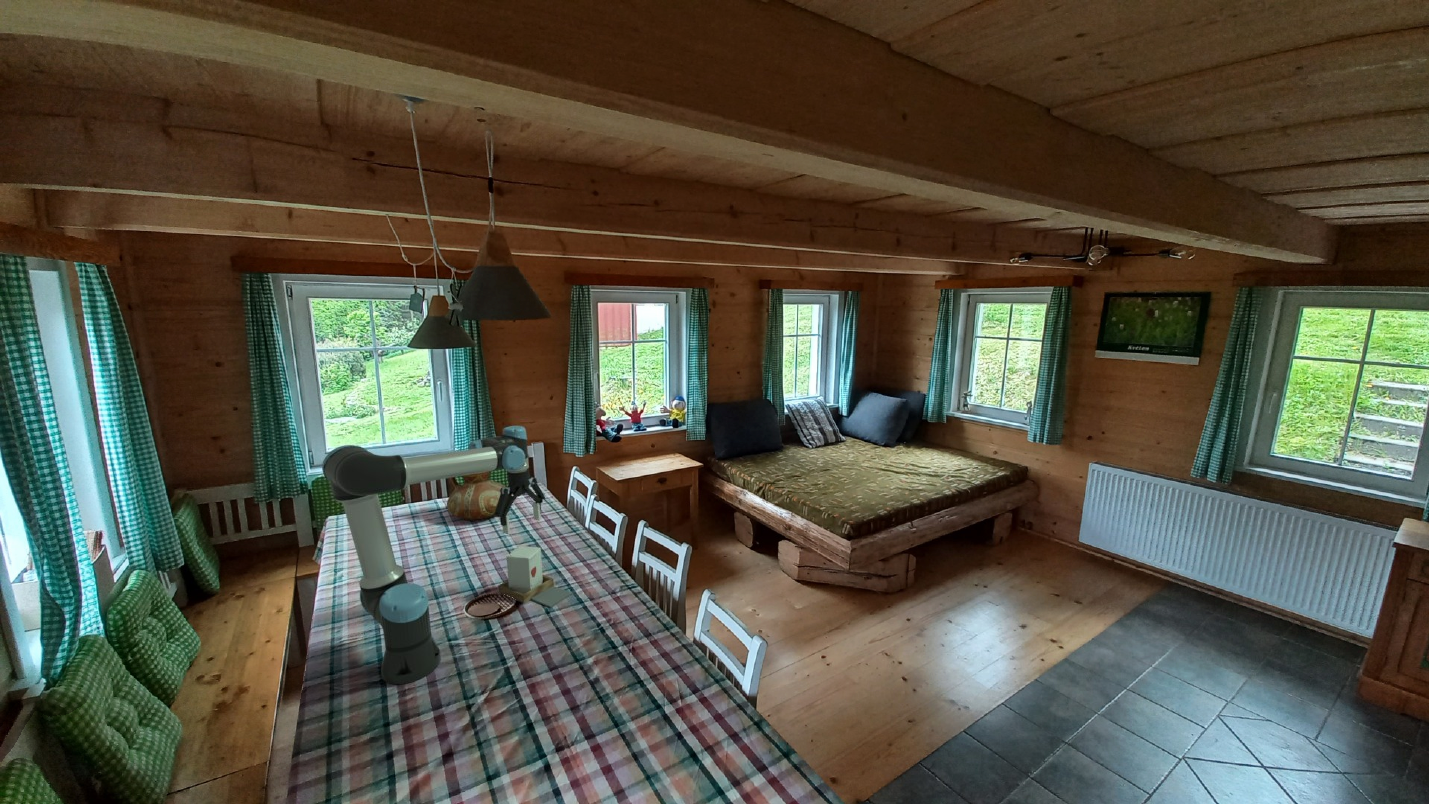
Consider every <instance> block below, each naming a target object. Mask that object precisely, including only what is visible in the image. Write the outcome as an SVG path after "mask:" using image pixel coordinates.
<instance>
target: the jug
mask: <svg viewBox="0 0 1429 804" xmlns="http://www.w3.org/2000/svg"><path fill="white" fill-rule="evenodd" d="M491 474H492V471H487V472H481V473H475V474H469V475H463V476H461V477H462V479H463V481H464V483H463V484H460V483H459V482H458V481H457V480H456V477H452V478H449V480H450V483H451V484H452V486H453V487H454V490H453V491H452V492H451V494H449V497H448V499H447V501H446V507H447V509H448V511H449V512H450V513H451V515H453V516H455V517H457V518H459V519H462V520H465V521H471V522H472V521H475V522H476V521H484V520H488V519H490V518H493V517H496V516H495V515H494V514H495V510H496V507H497V504H498V501H499V497H500V489H501V488H502V487H503V488H507V487H508V486H506V485H505V484H502V482H497V481H496V480H495V481H494V480H491V479H490V476H491ZM511 496H513V495H511Z"/></svg>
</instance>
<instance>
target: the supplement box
mask: <svg viewBox="0 0 1429 804" xmlns="http://www.w3.org/2000/svg"><path fill="white" fill-rule="evenodd" d="M506 563H507V565H506V567H507V578H508V579H507V581H508V583H509V588H510V589H513V590H515V591H518V592H520V593H523V594H525V593H527V592H528V591H530V590H532V589H534V588H535V587H537V586H539V585H541V584H542V583H543V576H542V575H543V561H542V549H541V547H535V546H527V545H519V546H518V547H517V548H516V549H514V550H513V551H511V553H510V554H507V556H506Z"/></svg>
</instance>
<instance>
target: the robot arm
mask: <svg viewBox="0 0 1429 804" xmlns="http://www.w3.org/2000/svg"><path fill="white" fill-rule="evenodd" d="M529 463H530V462H529V453H528V437H527V430H526V428H525V426H521V425H511V426H507V427H504V428H503V429H502V434H500V435H497V436H491V437H486V438H482V439H481V438H479V439H476V440H473V441H470V443H469V444H468V446H467V449H463V450H453V451H448V452H441V453H440V452H439V453H432V454H424V455H417V456H416V455H415V456H408V457H403V456H402V455H401V454H397V455H379V454H375V453H373V452H371V451H368V449H366V448H365V447H362V446H359V445H354V444H345V445H339V446H337V447H335V448H334V449H332V450H331V451H329V452H328V454H326V456H325V457H324V459H323V461H322V464H321V465H322V466H321V471H322V474H323V477H324V478H325V479H326V480H327V481H328V482H329V484H330V488H331V492H332V495H333V499H334V500H335V501H336V502H339V503H341V504H342V506H343V509H344V512H345V516H346V519H347V523H348V527H349V529H350V530H349V531H350V533H351V537H352V541H353V543H354V544H353V545H354V547H355V551H356V555H357V557H358V562H359V565H360V569H361V573H362V575H363V576H362V577H361V579H360V580H359V582H358V585H359V587H360V590H359V600H360V604H361V607H362V608H363V609H364V610H365V612H367V613H368V614H369V615H371V617H372V618H373V619H374V620H375V621H376V622H377V623H378V625H380V627H381V628H382V632H383V640H384V648H385V650H384V654H383V658H382V662H381V667H380V672H381V673H380V674H381V675H380V676H381V679H382V680H383V681H384V682H385V683H388V684H390V685H391V684H392V685H402V684H403V685H405V684H409V683H411V682H415V681H418V680H420V679H423V678H425V677H426V676H428V675H430V674H431V673H432V672H434V671H435V669H437V668H438V667H439V665H440V663H441V660H442V656H441V654H442V653H441V650H440V647H439V645H438V644H437V642H436V640H435V639H434V637H433V635H432V625H431V619H430V608H429V601H430V600H429V596H428V595H427V590H426V589H425V588H424V587H423V586H422V585H420V584H418V583H409V582H408V580H407V576H406V573H405V568H404V567H403V566H401V565H400V564H397V561H396V558H395V555H394V554H395V553H394V550H393V546H392V542H391V538H390V535H389V532H388V527H387V523H386V520H385V516H384V513H383V509H382V505H381V502H380V498H379V494H385V493H391V492H395V491H403V490H405V489H406V487H407V486H409V485H414V484H421V483H422V484H423V483H427V482H432V481H433V482H434V481H439V480H446V479H450V478H452V477H455V478H456V477H457V478H458V477H462V476H463V475H469V474H475V473H481V472H487V471H499V470H506V480H507V481H506V482H507V483H508V486H506V487H507V488H503V487H502V488H501V489H500V497H499V501H498V504H497V507H496V510H495V514H494V515H495V516H494V517H498V518H499V521H500V525H501V527H502V533H503V534H505V535H510V534H511V529H510V518H509V515H508V513H509V511H510V509H511V508H512V505H513V503H514V502H515V501H516V499H517V498H518V497H521V496H525V494H526V495H527V496H529V498H530V499H532V500H533V502H532V510H533V513H532V514H533V519H534V520H536V521H542V520H541V511H542V504H543V502H544V500H545V499H546V496H545V494H544V492H543V491H542V489H541V488H540V486H539V484H538V481H537V478H536V477H533V476H531V475H530V469H529V468H530V466H529ZM530 487H531V488H532V489H533V490H532V489H531V488H530ZM533 491H534V492H533ZM511 495H512V496H511Z"/></svg>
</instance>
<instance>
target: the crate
mask: <svg viewBox="0 0 1429 804" xmlns="http://www.w3.org/2000/svg"><path fill="white" fill-rule="evenodd" d="M542 576H543V583H542V584H541V585H539V586H537V587H535V588H534V589H532V590H530V591H528V592H527V593H525V594H523V593H520V592H518V591H515V590H513V589H510V588H509V583H508V580H506V581H504V582H501V583H500V584H498V585H497V586H498V587H497V588H498V593H499V594H500V593H501V595H503V594H505V595H508V596H510V597H513V598H514V599H513V600H515V599H516V600H515V601H517V602H520V603H521V604H522V603H523V604H526V603H527V602H530V601H532V600H531V598H532V597H534V596H536V595H538V594H539V593H541V592H543V591H544V590H546V589H548V588H549V587H551V586H555V583H554V582H555V581H554V578H553V577H549V576H547V575H544V574H542ZM505 595H504V596H505ZM510 597H509V598H510Z"/></svg>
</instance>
